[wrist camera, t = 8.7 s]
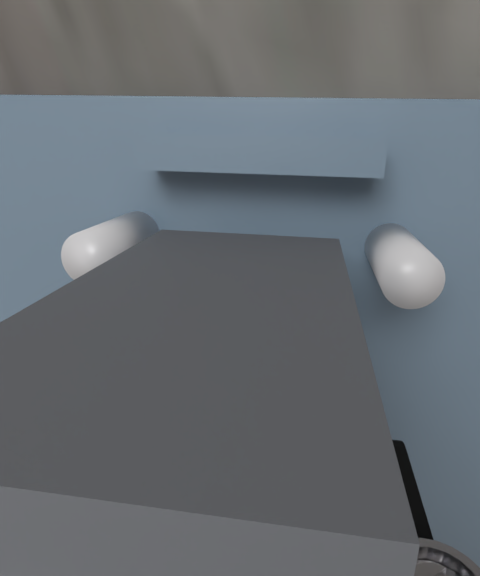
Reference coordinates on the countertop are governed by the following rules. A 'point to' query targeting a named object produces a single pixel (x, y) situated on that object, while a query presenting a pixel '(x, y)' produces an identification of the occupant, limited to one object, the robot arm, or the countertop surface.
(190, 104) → the blue fixture board
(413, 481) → the robot arm
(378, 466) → the block
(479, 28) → the countertop surface
